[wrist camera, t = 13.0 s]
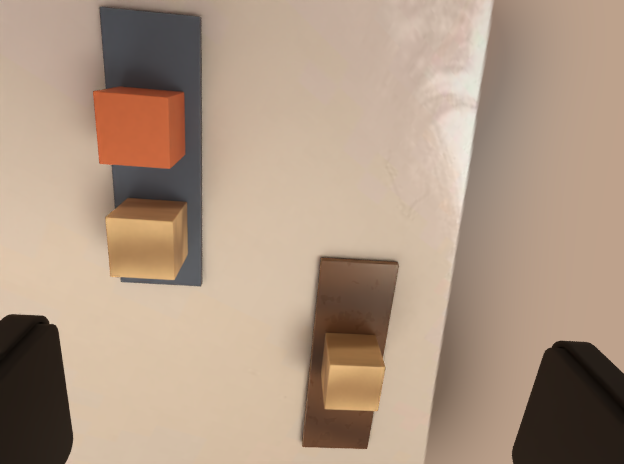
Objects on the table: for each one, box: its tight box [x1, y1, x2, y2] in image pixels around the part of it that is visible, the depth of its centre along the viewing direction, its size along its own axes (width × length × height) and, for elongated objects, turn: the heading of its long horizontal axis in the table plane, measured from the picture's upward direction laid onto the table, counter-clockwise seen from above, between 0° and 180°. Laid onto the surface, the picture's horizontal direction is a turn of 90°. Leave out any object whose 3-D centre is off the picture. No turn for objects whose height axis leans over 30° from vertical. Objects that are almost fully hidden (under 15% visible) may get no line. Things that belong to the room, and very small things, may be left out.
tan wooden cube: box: [105, 198, 188, 280], centre depth 32 cm, size 4×4×4 cm
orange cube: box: [93, 87, 185, 169], centre depth 29 cm, size 4×4×4 cm
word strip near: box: [100, 7, 202, 286], centre depth 33 cm, size 20×6×1 cm, turn 175°
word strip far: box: [302, 258, 399, 449], centre depth 40 cm, size 20×6×1 cm, turn 175°
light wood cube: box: [321, 333, 385, 411], centre depth 37 cm, size 4×4×4 cm
